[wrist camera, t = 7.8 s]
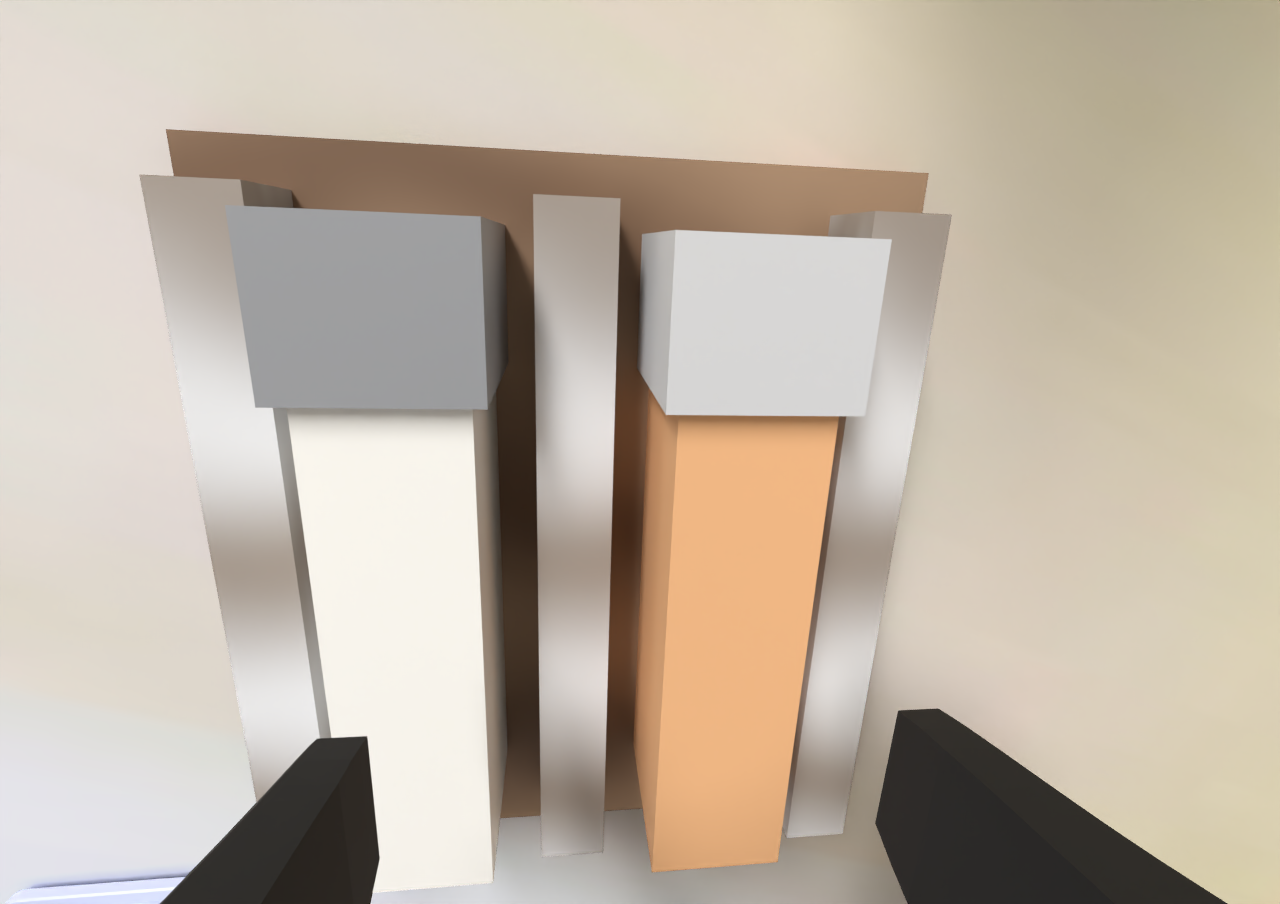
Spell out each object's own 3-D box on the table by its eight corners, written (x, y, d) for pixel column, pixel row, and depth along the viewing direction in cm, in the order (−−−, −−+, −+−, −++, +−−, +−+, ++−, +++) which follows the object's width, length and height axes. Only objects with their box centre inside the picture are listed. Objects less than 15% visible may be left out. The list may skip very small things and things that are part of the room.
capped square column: (743, 737, 19) (795, 876, 15) (623, 744, 18) (640, 889, 14) (797, 240, 15) (891, 239, 10) (641, 233, 14) (675, 229, 10)
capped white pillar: (517, 748, 18) (505, 898, 14) (385, 755, 18) (331, 913, 13) (504, 225, 14) (480, 216, 10) (329, 217, 13) (224, 204, 9)
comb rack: (817, 775, 21) (857, 859, 18) (297, 809, 19) (251, 909, 16) (910, 176, 15) (990, 161, 12) (188, 135, 13) (87, 106, 10)
